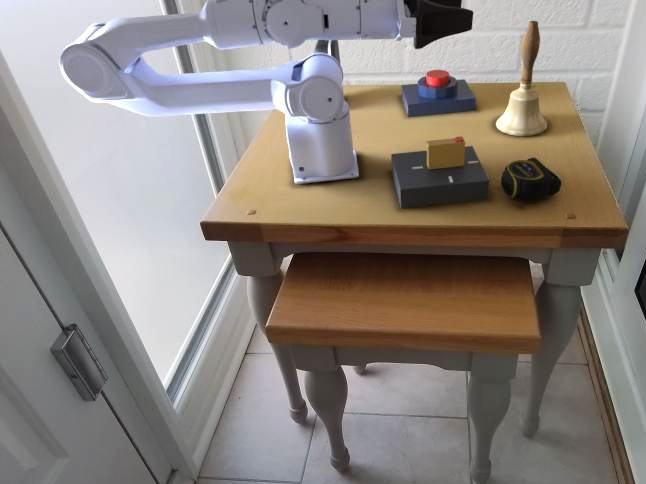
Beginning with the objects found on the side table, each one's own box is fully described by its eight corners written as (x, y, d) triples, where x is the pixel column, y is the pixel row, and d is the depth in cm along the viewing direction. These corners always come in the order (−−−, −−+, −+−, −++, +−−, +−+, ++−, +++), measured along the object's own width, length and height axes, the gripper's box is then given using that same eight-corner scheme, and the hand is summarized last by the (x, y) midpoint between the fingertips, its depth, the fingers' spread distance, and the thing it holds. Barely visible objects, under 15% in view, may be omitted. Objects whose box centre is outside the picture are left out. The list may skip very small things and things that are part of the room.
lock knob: (428, 169, 74) (428, 144, 71) (426, 164, 75) (426, 139, 72) (464, 166, 74) (465, 140, 71) (461, 161, 75) (463, 135, 72)
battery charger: (324, 97, 102) (316, 33, 95) (344, 96, 102) (337, 32, 94) (320, 112, 97) (311, 47, 89) (341, 111, 97) (333, 45, 89)
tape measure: (560, 200, 72) (565, 176, 69) (514, 211, 70) (518, 186, 68) (535, 176, 77) (538, 153, 74) (491, 186, 75) (493, 162, 73)
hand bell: (486, 121, 91) (494, 20, 80) (526, 110, 93) (539, 11, 82) (515, 141, 85) (527, 34, 74) (557, 129, 87) (575, 24, 77)
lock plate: (400, 208, 72) (400, 188, 70) (392, 172, 80) (391, 152, 78) (488, 199, 73) (489, 179, 71) (471, 164, 80) (472, 144, 78)
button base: (408, 116, 94) (407, 94, 91) (401, 96, 100) (400, 75, 98) (475, 110, 94) (476, 87, 92) (464, 90, 101) (465, 69, 98)
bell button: (428, 89, 93) (428, 79, 92) (424, 80, 96) (424, 70, 95) (450, 86, 94) (451, 76, 92) (446, 78, 97) (446, 68, 95)
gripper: (361, -10, 59) (481, -12, 60) (357, -32, 71) (458, -33, 71) (362, 57, 64) (474, 54, 65) (358, 26, 75) (454, 24, 76)
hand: (466, 13), depth 68 cm, fingers open, 7 cm apart
